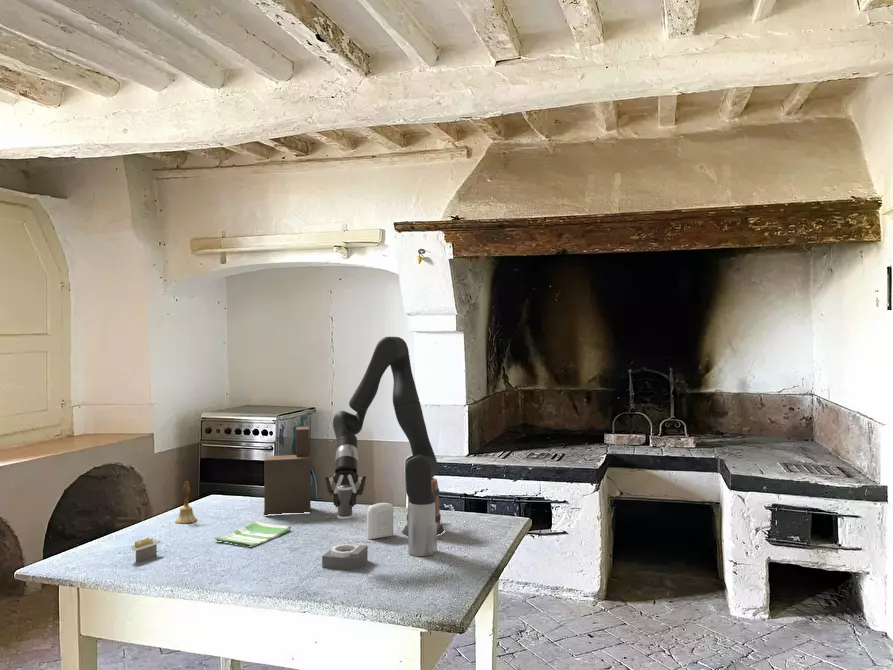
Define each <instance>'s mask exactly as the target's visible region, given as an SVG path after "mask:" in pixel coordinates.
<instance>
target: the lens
mask: <svg viewBox="0 0 893 670" xmlns="http://www.w3.org/2000/svg"><path fill="white" fill-rule="evenodd" d="M337 518H338V519H342V520H343V519H344V520H347V519H351V518H353V507H352V485H349V484H343V485H338V507H337Z"/></svg>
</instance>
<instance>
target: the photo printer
mask: <svg viewBox="0 0 893 670" xmlns="http://www.w3.org/2000/svg"><path fill="white" fill-rule="evenodd" d="M393 535H394V506H393V504H392V503H387V502H378V503H374V504H371V505H369V506H368V507H367V509H366V538H367V539H368V540H375V539H380V538H387V537H393Z"/></svg>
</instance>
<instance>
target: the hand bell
mask: <svg viewBox="0 0 893 670" xmlns="http://www.w3.org/2000/svg"><path fill="white" fill-rule="evenodd" d="M190 492H191V486H190V482H189V481H188V480H187V481H184V484H183V488H182V494H183V496H184V501H183V506H182V507H180V509H179V514H178V517H177V519H175V524H183V523H184V524H190V523H191V522H192V523H194V522H196V521H198V518H197V517H196V516H195V514H194V511H193V507H192V506H190V505H189V497H190ZM184 524H183V525H184Z"/></svg>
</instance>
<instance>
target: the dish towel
mask: <svg viewBox="0 0 893 670" xmlns="http://www.w3.org/2000/svg"><path fill="white" fill-rule="evenodd" d="M291 528H292V525H289V524H278V523H269V522H264V521H263V522H262V521H258V520H257V521H254V522H252V523H250V524H248V525H244V526H243V527H242V528H241V527H240V528H239V529H236V530H235V531H233V532H231V533H230V534H227V535H224V536H217V537H214V540H216V541H222V542H228V543H232V544H237V545H244V546H251V547H253V546H255V545H257V546H259V545H258V544H260V543H263V542H265V541H267V540H270V539H272V538H274V539H276V538H275V537H277V536H279V537H281V536H282V535H281V534H283V535H285V534H286V533H288V532H289V531H290V530H291ZM253 531H255V532H259V533H255V534H252V533H251V534H250V533H249V532H253ZM287 531H288V532H287ZM284 533H285V534H284ZM280 535H281V536H280ZM277 538H278V537H277ZM272 540H273V539H272ZM270 541H271V540H270ZM267 542H268V541H267ZM265 543H266V542H265ZM263 544H264V543H263ZM237 545H236V546H237ZM260 545H261V544H260ZM244 546H243V547H244ZM255 547H256V546H255ZM253 548H254V547H253Z"/></svg>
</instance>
